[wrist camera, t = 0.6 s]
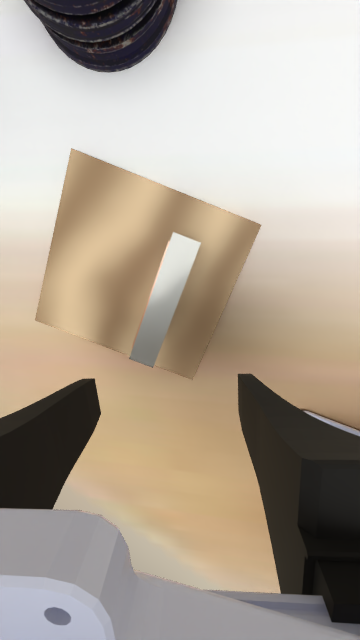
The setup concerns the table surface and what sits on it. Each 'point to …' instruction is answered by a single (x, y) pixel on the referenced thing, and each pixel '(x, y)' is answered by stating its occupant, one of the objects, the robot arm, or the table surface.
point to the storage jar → (105, 29)
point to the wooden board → (137, 261)
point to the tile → (164, 298)
